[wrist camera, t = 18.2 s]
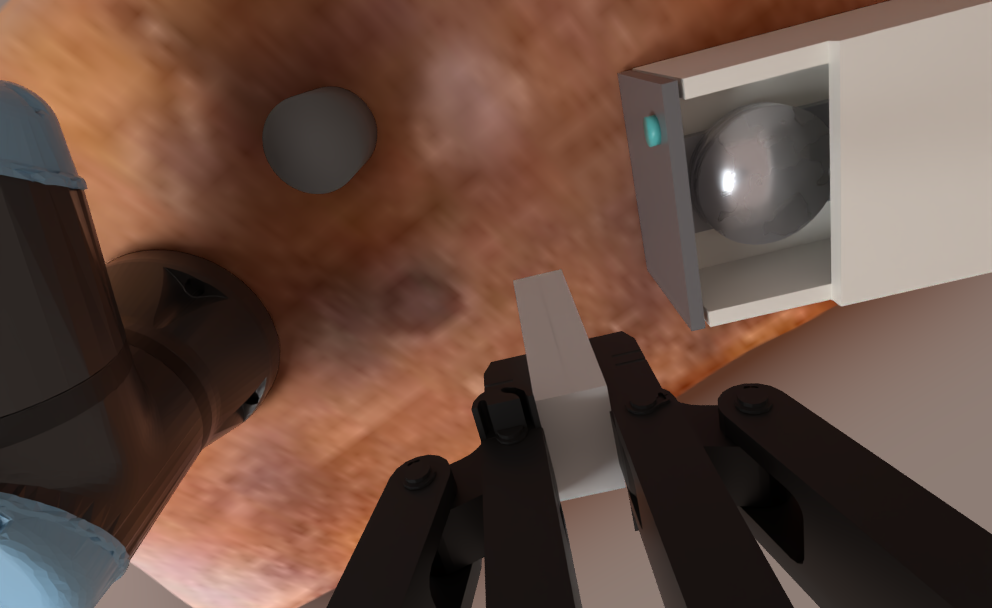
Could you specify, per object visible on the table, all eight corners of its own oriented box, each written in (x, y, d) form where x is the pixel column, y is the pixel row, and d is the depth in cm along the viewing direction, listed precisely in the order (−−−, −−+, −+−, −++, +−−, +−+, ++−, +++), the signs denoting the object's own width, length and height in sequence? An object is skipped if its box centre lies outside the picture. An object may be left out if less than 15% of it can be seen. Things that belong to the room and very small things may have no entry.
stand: (310, 181, 41) (285, 203, 35) (279, 98, 39) (246, 109, 33) (388, 161, 40) (374, 180, 35) (360, 76, 38) (341, 83, 33)
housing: (660, 264, 44) (716, 334, 34) (632, 68, 38) (689, 80, 28) (906, 205, 43) (1045, 260, 32) (915, -7, 37) (1087, -24, 27)
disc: (694, 247, 38) (705, 258, 36) (679, 121, 34) (691, 126, 33) (821, 217, 37) (838, 226, 35) (818, 86, 34) (838, 89, 32)
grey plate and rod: (640, 271, 44) (683, 333, 35) (609, 75, 38) (651, 87, 29) (887, 212, 42) (998, 260, 33) (893, 0, 37) (1029, -12, 28)
